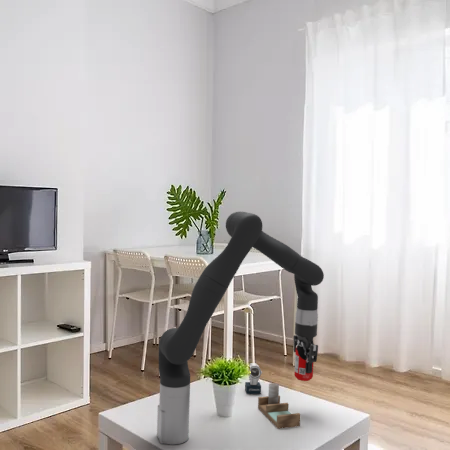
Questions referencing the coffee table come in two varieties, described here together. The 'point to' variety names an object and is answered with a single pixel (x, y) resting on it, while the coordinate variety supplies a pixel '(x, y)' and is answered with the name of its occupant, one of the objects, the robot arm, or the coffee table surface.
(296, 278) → the robot arm
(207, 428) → the coffee table surface
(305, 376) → the beverage can
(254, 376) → the watch
